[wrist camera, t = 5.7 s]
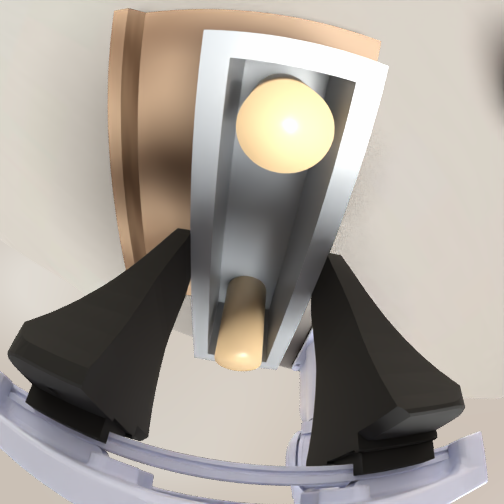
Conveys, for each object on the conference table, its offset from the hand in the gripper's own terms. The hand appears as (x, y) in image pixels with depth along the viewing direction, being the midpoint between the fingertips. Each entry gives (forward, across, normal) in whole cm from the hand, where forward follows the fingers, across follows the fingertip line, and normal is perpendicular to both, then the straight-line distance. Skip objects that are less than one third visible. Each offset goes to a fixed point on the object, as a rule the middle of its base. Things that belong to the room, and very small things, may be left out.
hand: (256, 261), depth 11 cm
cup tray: (+5, 0, 0) cm, 5 cm away
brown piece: (+8, +2, 0) cm, 9 cm away
